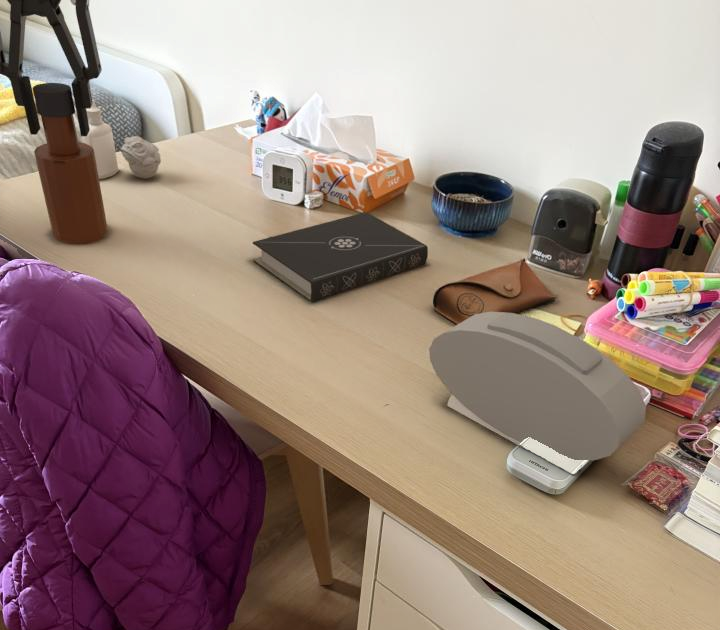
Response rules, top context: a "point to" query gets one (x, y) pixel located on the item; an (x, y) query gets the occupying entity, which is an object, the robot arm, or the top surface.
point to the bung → (54, 99)
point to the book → (339, 255)
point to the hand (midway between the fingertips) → (60, 131)
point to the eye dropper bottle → (101, 143)
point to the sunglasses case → (492, 293)
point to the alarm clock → (537, 384)
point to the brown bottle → (70, 183)
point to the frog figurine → (141, 156)
